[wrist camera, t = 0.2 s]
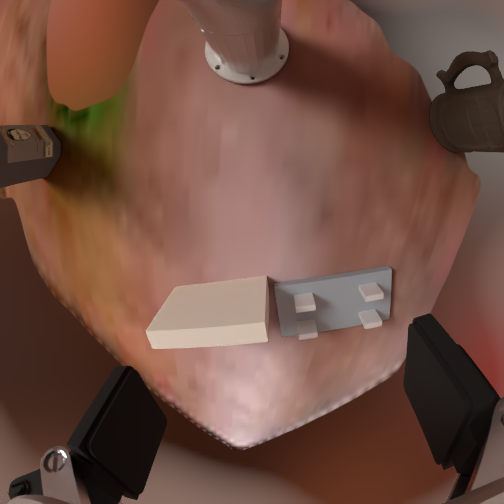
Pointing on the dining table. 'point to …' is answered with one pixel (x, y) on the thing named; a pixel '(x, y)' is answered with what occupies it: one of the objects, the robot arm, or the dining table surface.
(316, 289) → the hinge plate
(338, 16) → the dining table surface
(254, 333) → the cabinet door
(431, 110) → the beer stein
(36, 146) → the liquor
